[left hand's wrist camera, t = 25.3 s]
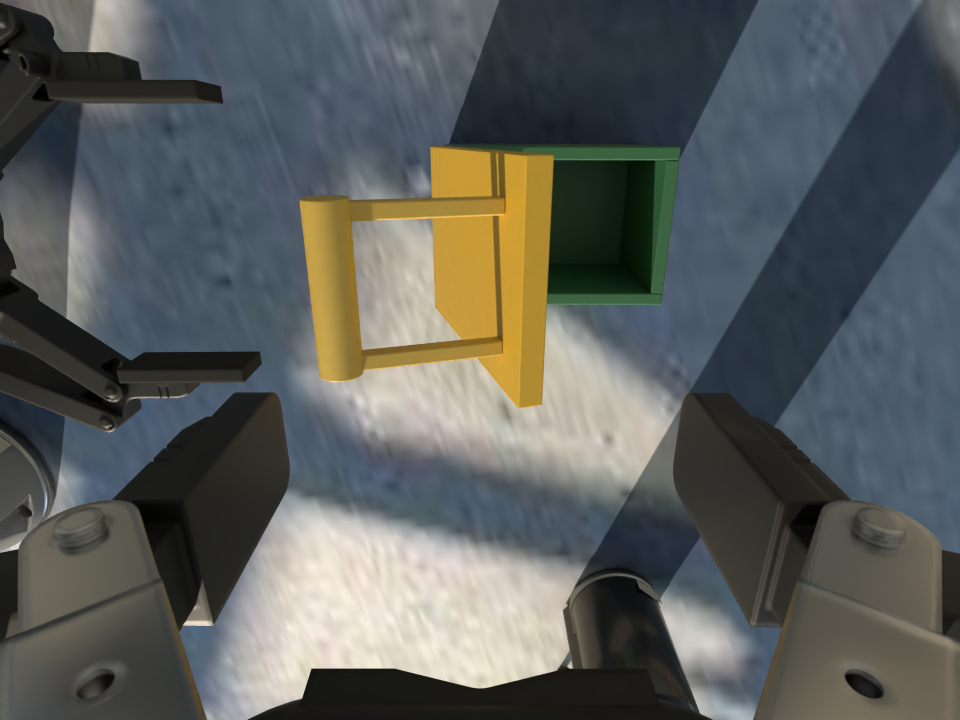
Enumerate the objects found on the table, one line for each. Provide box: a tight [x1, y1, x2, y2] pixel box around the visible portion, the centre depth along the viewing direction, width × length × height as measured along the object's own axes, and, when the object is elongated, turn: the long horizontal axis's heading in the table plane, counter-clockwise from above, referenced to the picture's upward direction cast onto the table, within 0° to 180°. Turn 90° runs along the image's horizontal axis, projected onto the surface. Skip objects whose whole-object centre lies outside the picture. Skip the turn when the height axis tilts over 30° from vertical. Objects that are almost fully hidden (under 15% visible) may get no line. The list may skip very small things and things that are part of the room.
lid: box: [300, 146, 554, 408], centre depth 27 cm, size 15×10×9 cm
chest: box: [443, 143, 681, 305], centre depth 41 cm, size 15×10×10 cm
